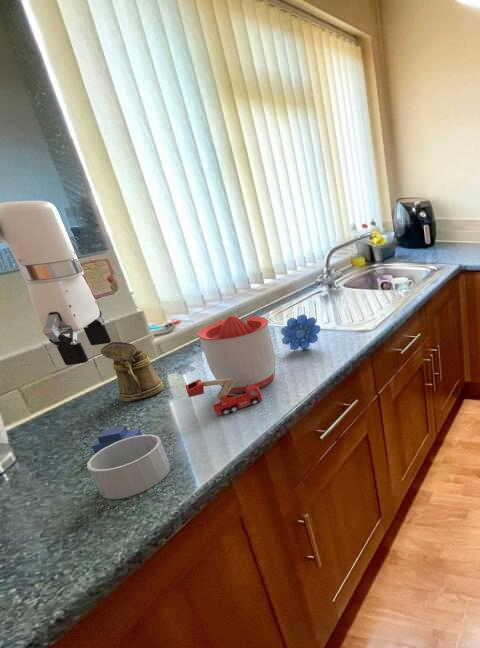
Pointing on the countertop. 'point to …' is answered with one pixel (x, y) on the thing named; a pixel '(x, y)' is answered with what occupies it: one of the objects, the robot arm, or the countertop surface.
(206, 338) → the citrus juicer
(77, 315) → the robot arm
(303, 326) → the blue flower
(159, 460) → the grey bowl
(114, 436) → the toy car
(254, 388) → the toy fire truck
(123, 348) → the wooden mug
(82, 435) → the countertop surface
